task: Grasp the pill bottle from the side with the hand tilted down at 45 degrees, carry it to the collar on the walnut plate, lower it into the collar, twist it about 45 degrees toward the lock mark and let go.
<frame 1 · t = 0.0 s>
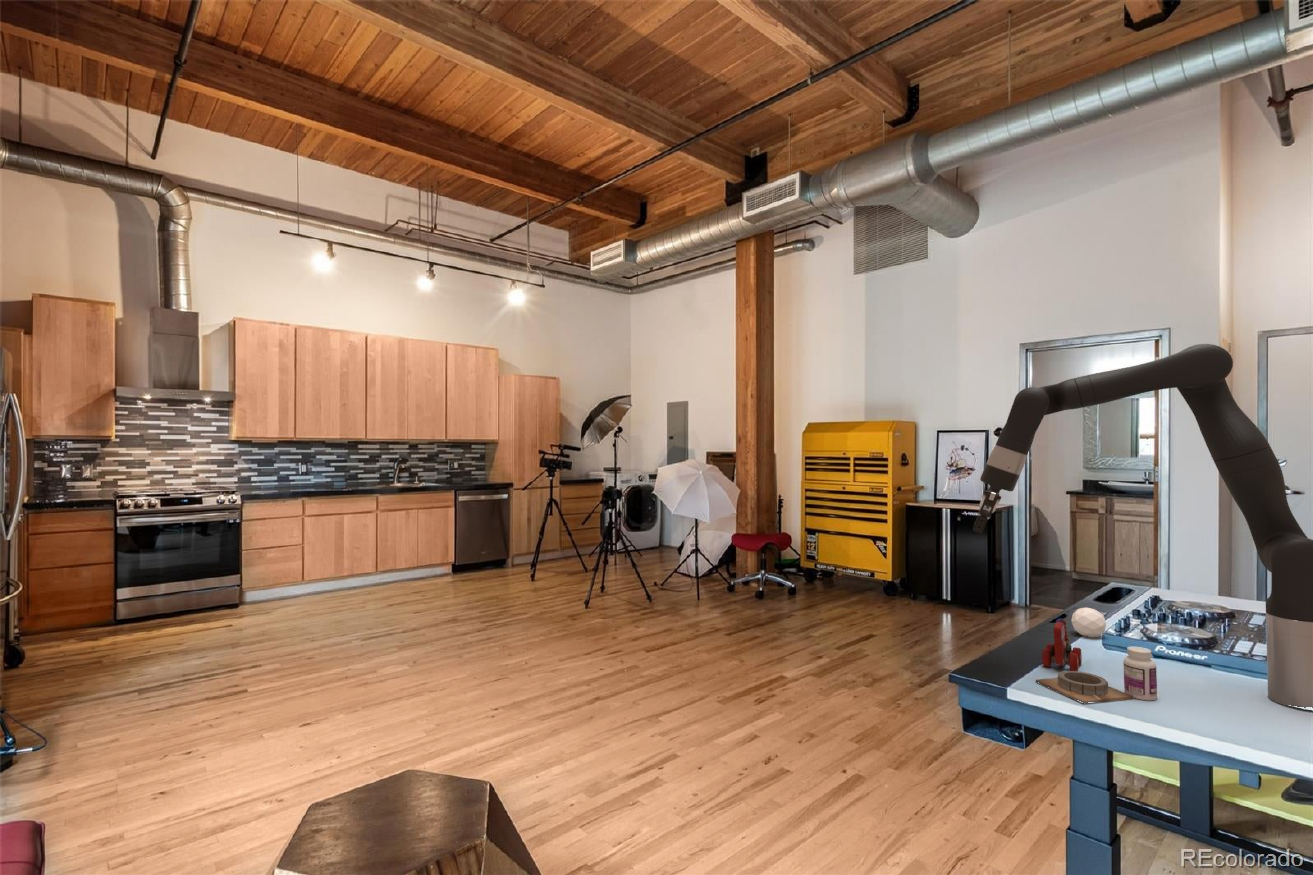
hand: (977, 529, 152), 31 cm above the table, tool tilted 20°, fingers open, 8 cm apart
dark red upright piece: (1062, 666, 147), on the table
geometric ball: (1088, 637, 169), on the table
collar: (1082, 690, 132), on the table
pill bottle: (1140, 697, 128), on the table
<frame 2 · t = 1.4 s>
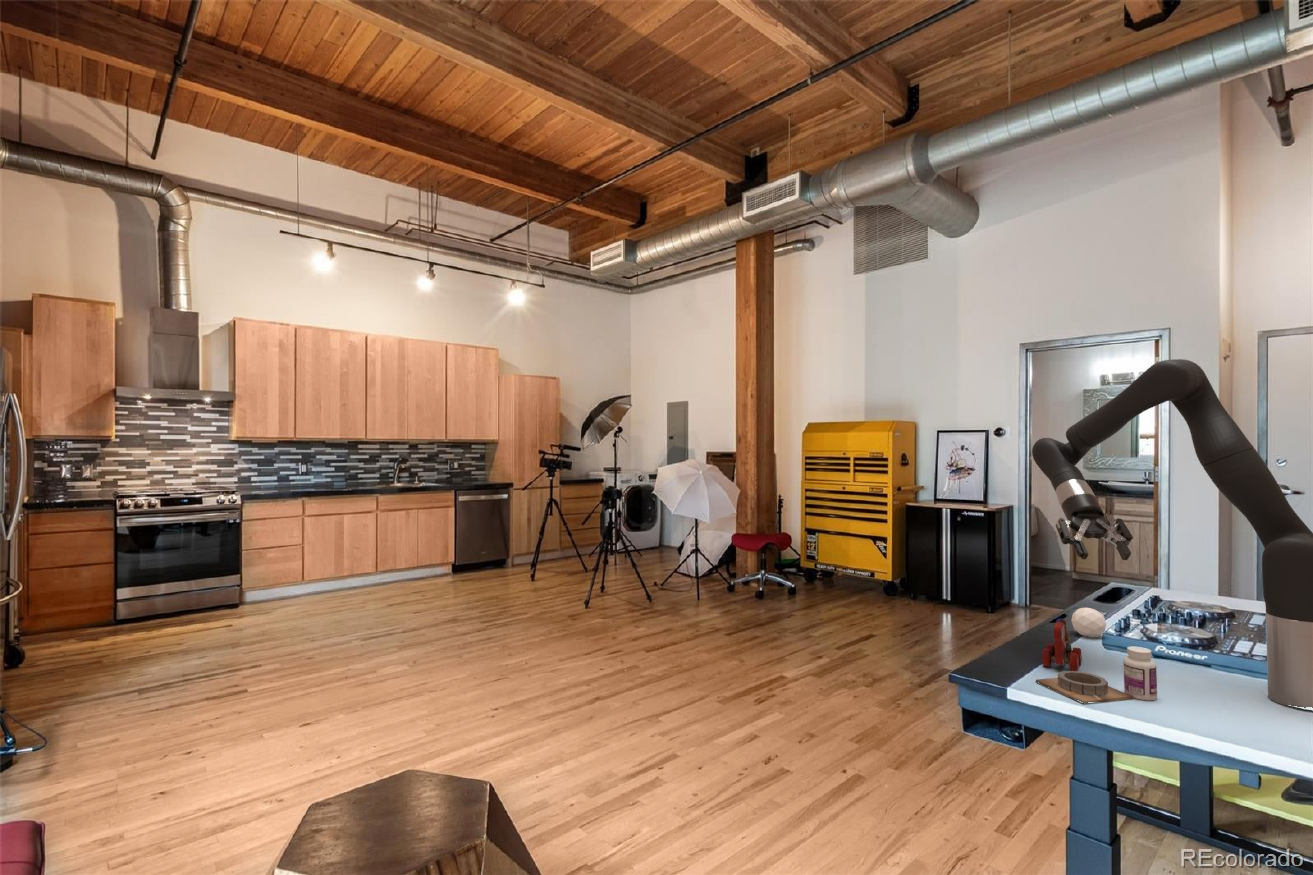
hand: (1106, 557, 140), 26 cm above the table, tool tilted 45°, fingers open, 8 cm apart
nothing on the table moved.
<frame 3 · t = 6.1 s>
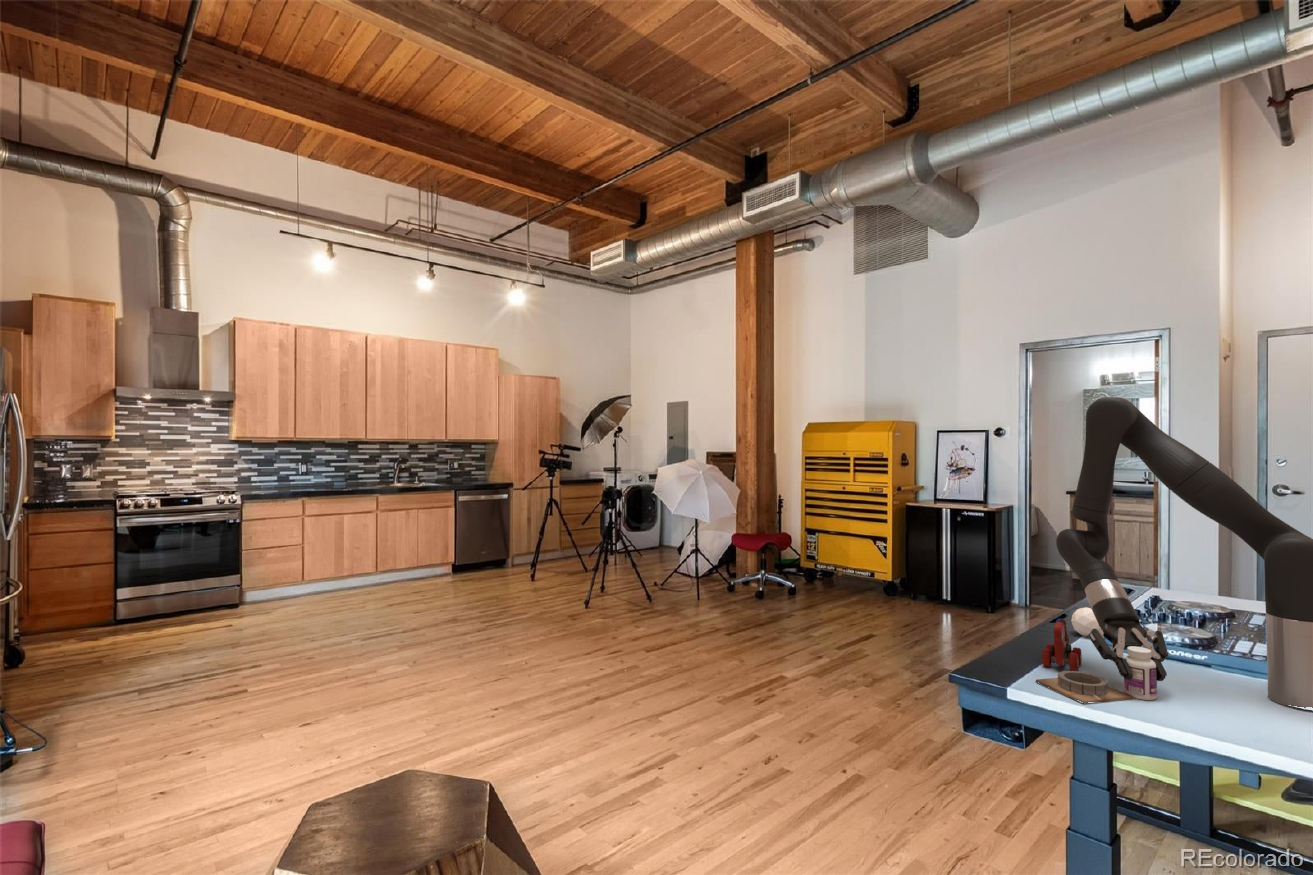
hand: (1145, 678, 127), 4 cm above the table, tool tilted 45°, fingers closed on pill bottle, 5 cm apart
pill bottle: (1140, 696, 128), on the table, touching gripper
everything else where it was.
when the fingers open (6 cm above the table, at t = 11.9 s): pill bottle stays where it is, resting on collar.
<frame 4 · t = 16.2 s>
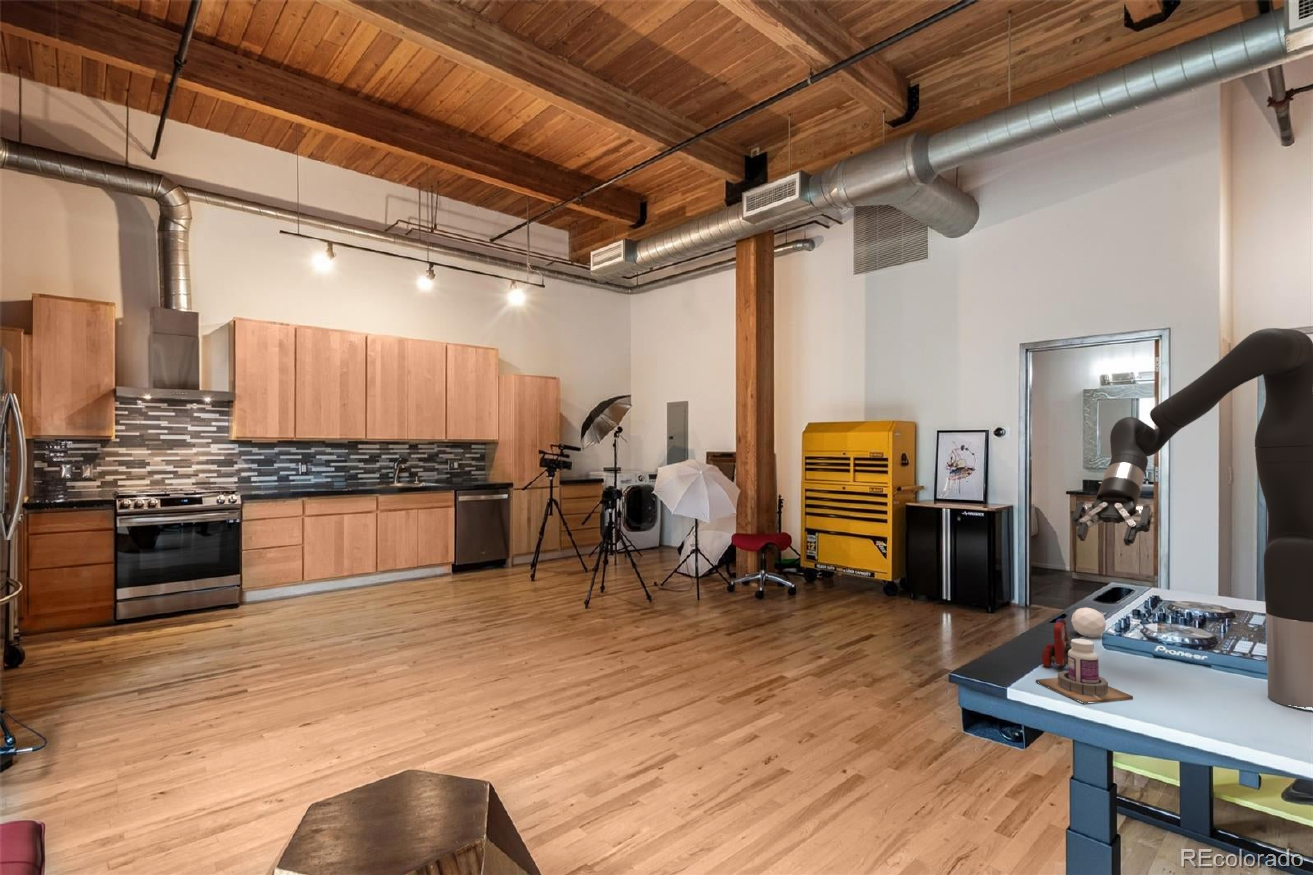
hand: (1103, 541, 137), 31 cm above the table, tool tilted 45°, fingers open, 8 cm apart
pill bottle: (1083, 688, 132), resting on collar
everything else where it was.
at the end: pill bottle 0.6 cm from the collar (horizontally); pill bottle tilted 0°; the gripper is holding nothing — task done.
